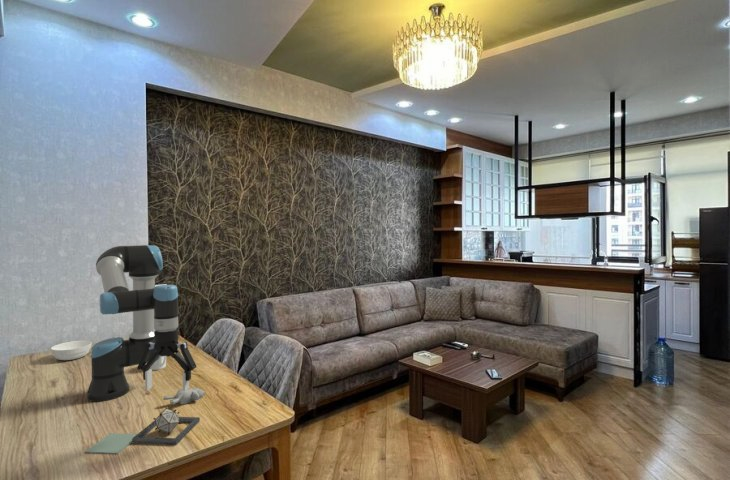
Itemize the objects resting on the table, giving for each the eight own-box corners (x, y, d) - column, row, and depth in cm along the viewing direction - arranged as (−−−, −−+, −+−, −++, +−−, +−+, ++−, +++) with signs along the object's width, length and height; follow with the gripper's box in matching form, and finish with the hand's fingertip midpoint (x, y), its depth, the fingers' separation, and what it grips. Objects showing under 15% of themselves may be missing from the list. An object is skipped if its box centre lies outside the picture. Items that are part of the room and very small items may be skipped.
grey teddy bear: (208, 389, 160) (173, 397, 148) (207, 401, 160) (172, 410, 148) (197, 383, 166) (162, 391, 154) (195, 395, 166) (160, 404, 154)
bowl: (98, 356, 214) (98, 343, 214) (58, 366, 198) (58, 352, 198) (84, 350, 224) (83, 338, 224) (45, 359, 208) (45, 346, 208)
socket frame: (132, 443, 127) (132, 438, 126) (160, 419, 142) (160, 416, 142) (176, 444, 125) (176, 440, 125) (199, 421, 141) (199, 417, 141)
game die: (164, 440, 135) (162, 411, 140) (187, 431, 135) (184, 402, 140) (149, 440, 127) (147, 410, 132) (173, 430, 128) (170, 400, 132)
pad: (85, 452, 121) (85, 451, 121) (110, 434, 132) (110, 433, 132) (117, 454, 120) (117, 452, 120) (140, 435, 131) (140, 434, 131)
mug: (143, 369, 193) (142, 349, 193) (158, 363, 201) (158, 344, 201) (158, 372, 189) (158, 352, 189) (173, 366, 197) (173, 347, 197)
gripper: (125, 331, 130) (126, 392, 130) (195, 332, 128) (196, 394, 129) (139, 326, 137) (140, 384, 138) (205, 327, 136) (206, 385, 136)
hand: (167, 389), depth 133 cm, fingers open, 13 cm apart
